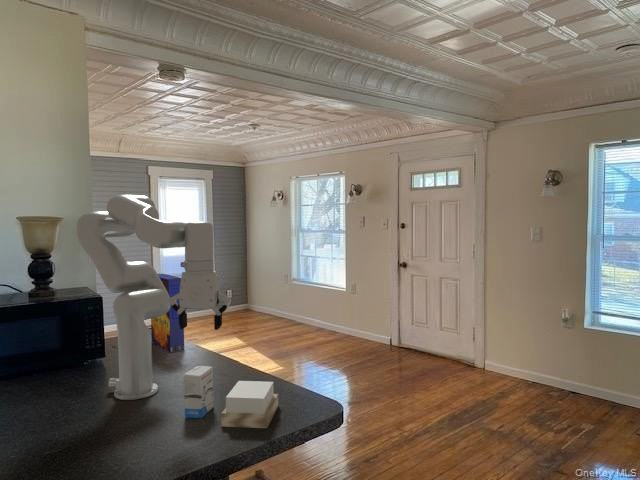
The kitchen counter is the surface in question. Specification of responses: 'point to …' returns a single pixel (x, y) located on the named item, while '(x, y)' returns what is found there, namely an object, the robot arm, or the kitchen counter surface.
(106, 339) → the kitchen counter surface
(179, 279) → the cereal box
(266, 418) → the lower block
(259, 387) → the upper block
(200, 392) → the ink box
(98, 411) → the kitchen counter surface
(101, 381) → the kitchen counter surface
